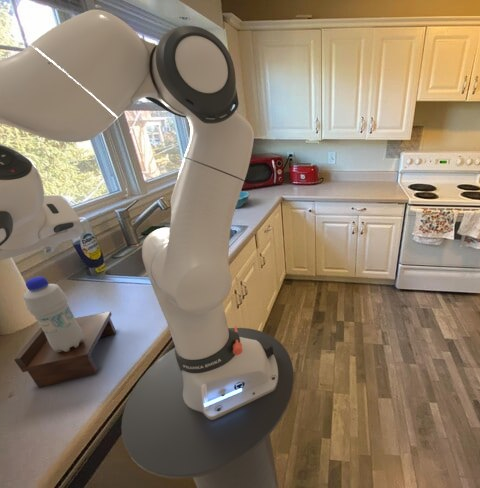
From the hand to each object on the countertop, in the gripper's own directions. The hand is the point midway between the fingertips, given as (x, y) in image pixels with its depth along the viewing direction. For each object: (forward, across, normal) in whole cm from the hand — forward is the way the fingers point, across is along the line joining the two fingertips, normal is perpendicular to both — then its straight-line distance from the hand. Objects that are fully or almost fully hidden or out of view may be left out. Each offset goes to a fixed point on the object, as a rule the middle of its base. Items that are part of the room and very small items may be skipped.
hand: (17, 259), depth 55 cm
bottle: (+23, +1, -16) cm, 28 cm away
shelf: (+30, +3, -18) cm, 35 cm away
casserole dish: (+82, +116, +33) cm, 146 cm away
